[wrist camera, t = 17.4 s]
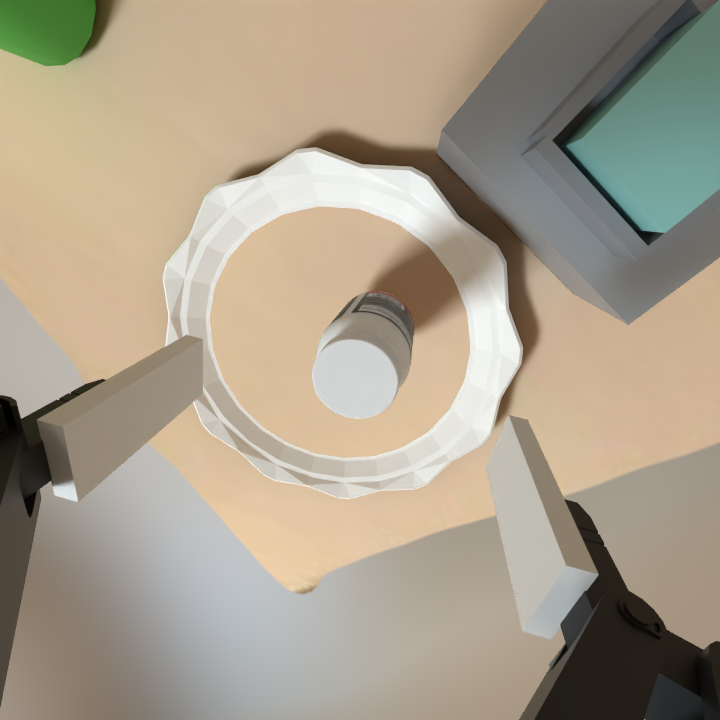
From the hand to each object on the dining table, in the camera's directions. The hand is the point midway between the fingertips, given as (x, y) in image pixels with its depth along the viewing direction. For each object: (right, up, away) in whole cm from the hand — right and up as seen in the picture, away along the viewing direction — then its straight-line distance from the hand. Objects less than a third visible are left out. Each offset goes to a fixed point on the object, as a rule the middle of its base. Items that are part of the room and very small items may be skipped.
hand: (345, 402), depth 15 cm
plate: (-2, +3, +17) cm, 17 cm away
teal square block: (+13, +11, 0) cm, 17 cm away
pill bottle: (+2, +5, +13) cm, 14 cm away
